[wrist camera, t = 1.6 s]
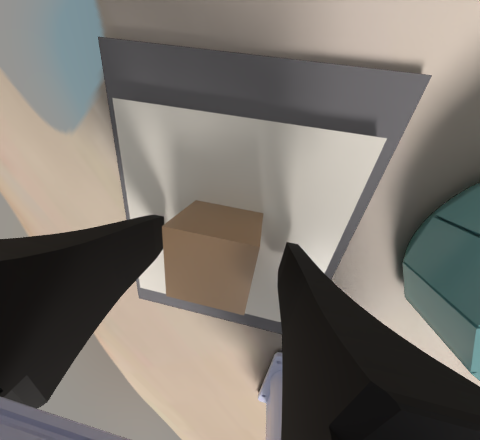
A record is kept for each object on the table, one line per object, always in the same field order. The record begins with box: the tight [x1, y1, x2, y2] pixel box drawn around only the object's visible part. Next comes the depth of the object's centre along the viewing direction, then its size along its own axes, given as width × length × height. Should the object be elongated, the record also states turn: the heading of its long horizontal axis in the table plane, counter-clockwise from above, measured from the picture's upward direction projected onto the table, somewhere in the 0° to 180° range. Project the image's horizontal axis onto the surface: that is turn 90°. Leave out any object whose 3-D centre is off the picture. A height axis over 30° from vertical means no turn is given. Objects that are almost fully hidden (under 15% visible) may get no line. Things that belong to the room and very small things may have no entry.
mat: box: [98, 37, 432, 334], centre depth 12 cm, size 18×15×1 cm
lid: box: [112, 98, 387, 322], centre depth 10 cm, size 13×13×4 cm
